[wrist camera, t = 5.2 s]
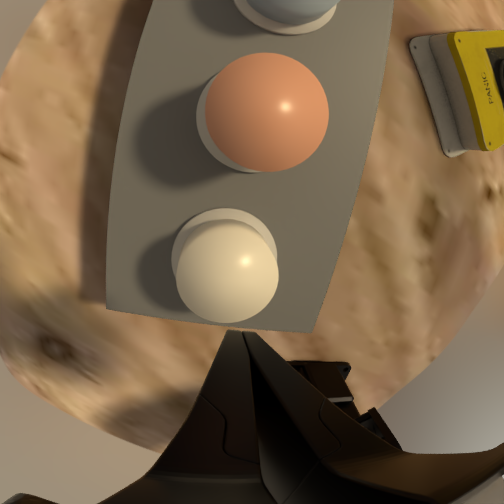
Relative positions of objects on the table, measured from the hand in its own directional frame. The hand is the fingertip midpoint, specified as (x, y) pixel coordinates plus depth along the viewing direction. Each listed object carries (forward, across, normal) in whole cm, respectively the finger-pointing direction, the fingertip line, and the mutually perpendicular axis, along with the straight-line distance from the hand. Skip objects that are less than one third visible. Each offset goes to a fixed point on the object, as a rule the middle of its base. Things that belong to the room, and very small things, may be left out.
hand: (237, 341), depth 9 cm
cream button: (+6, 0, 0) cm, 6 cm away
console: (+10, 0, -7) cm, 12 cm away
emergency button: (+10, -18, -17) cm, 27 cm away
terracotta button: (+5, 0, -7) cm, 9 cm away
